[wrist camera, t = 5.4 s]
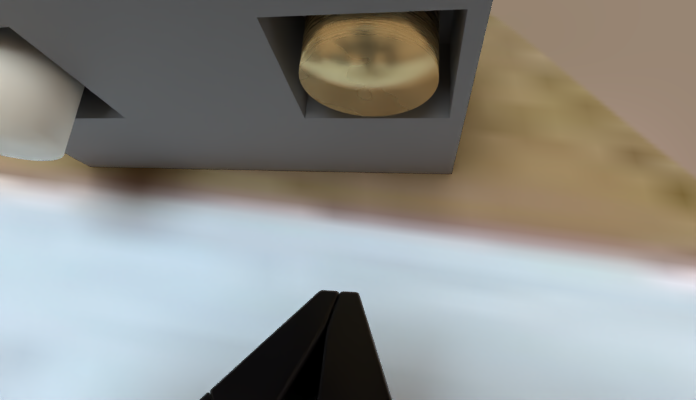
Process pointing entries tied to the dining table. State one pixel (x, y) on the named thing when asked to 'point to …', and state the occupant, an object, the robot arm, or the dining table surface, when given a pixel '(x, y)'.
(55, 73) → the cream button
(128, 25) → the console
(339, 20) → the brass button
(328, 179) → the dining table surface
